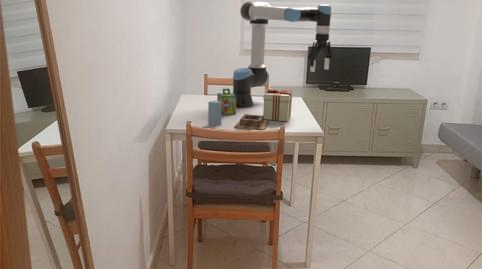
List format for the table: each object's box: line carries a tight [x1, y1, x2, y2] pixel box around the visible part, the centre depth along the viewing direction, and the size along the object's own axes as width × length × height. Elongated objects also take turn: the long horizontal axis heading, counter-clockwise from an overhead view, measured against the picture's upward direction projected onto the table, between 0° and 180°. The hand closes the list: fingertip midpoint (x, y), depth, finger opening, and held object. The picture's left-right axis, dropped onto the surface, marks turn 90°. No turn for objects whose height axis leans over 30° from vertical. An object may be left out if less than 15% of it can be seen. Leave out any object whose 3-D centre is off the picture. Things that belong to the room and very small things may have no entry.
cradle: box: [234, 113, 270, 131], centre depth 243 cm, size 16×16×4 cm
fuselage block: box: [207, 99, 222, 128], centre depth 240 cm, size 5×5×13 cm
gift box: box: [262, 87, 294, 122], centre depth 259 cm, size 17×18×17 cm
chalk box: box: [216, 88, 237, 116], centre depth 265 cm, size 9×9×15 cm
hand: (319, 70), depth 256 cm, fingers open, 13 cm apart
